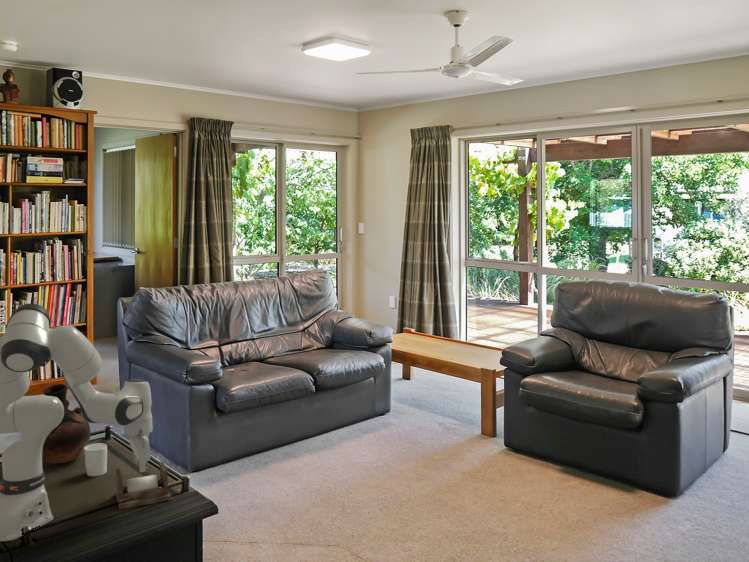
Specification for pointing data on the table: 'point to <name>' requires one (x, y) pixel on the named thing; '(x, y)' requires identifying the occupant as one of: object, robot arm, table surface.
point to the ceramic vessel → (65, 431)
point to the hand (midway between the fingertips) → (140, 466)
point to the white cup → (96, 459)
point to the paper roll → (141, 484)
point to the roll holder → (143, 496)
